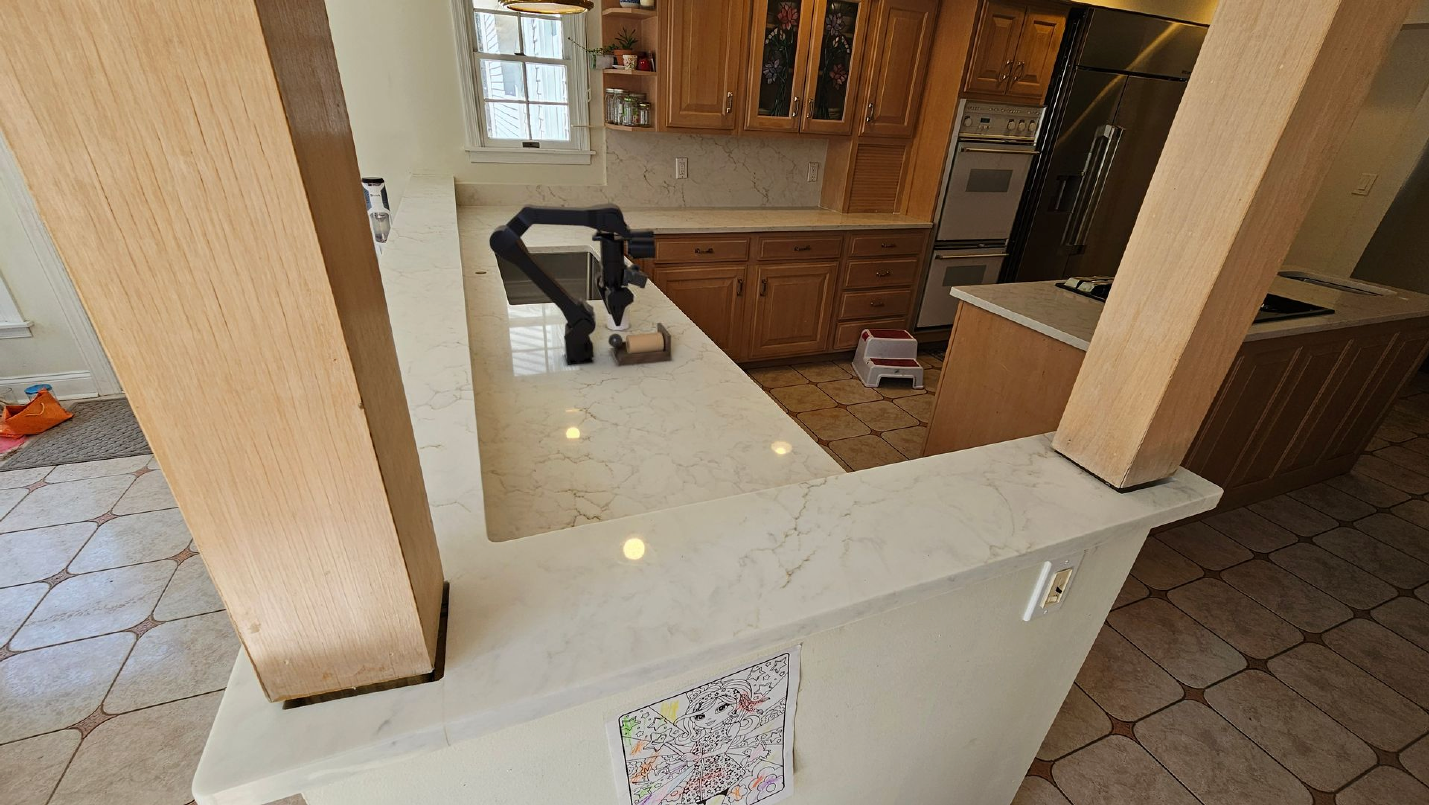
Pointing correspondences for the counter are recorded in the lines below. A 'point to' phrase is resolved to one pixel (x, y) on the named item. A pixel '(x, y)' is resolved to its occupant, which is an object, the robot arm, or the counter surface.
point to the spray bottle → (624, 320)
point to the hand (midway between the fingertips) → (614, 319)
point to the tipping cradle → (628, 359)
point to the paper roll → (644, 343)
